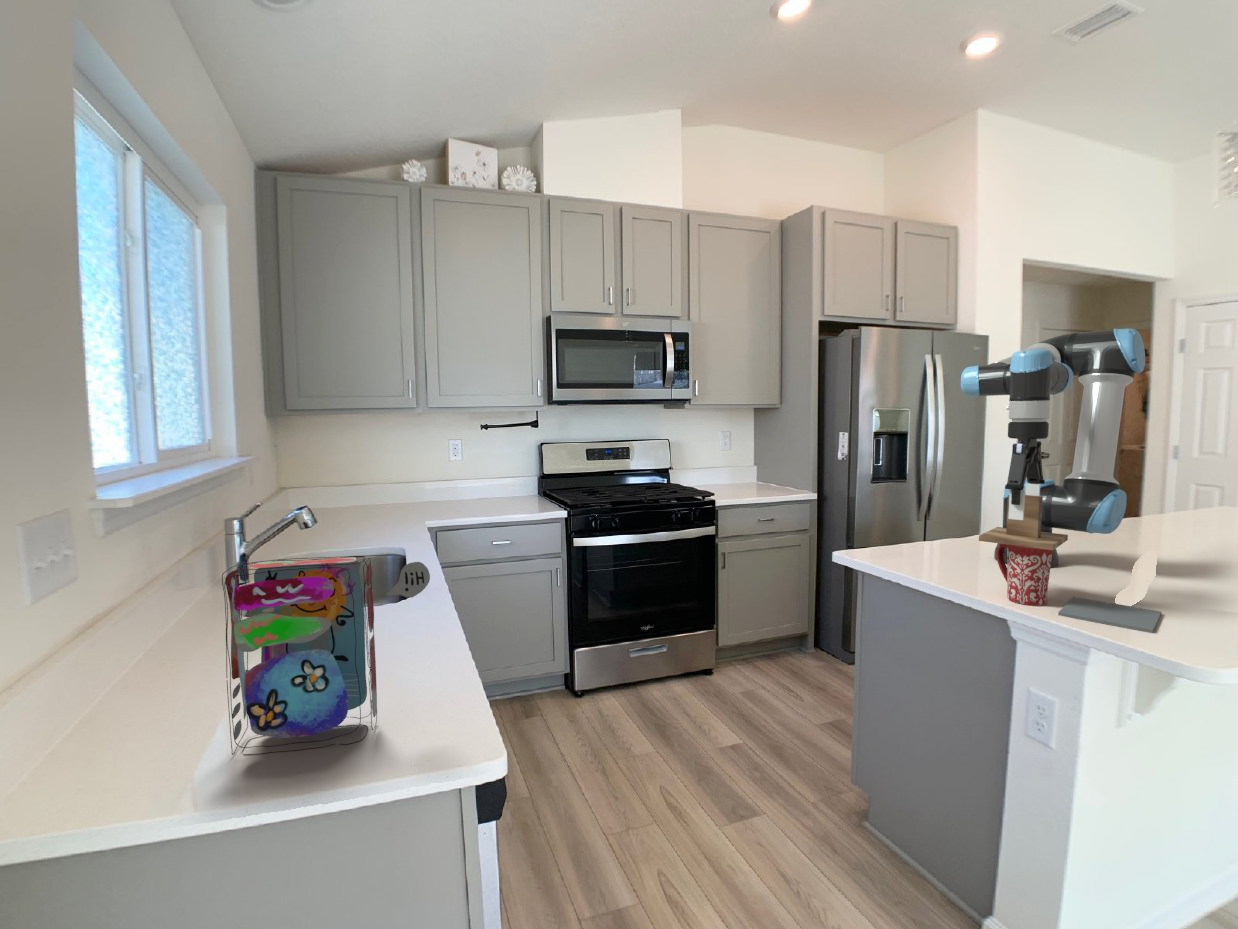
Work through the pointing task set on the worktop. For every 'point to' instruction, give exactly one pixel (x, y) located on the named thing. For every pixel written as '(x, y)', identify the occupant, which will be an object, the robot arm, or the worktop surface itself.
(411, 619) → the worktop surface
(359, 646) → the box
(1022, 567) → the mug
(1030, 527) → the wooden base stand
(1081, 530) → the robot arm
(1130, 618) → the mat
